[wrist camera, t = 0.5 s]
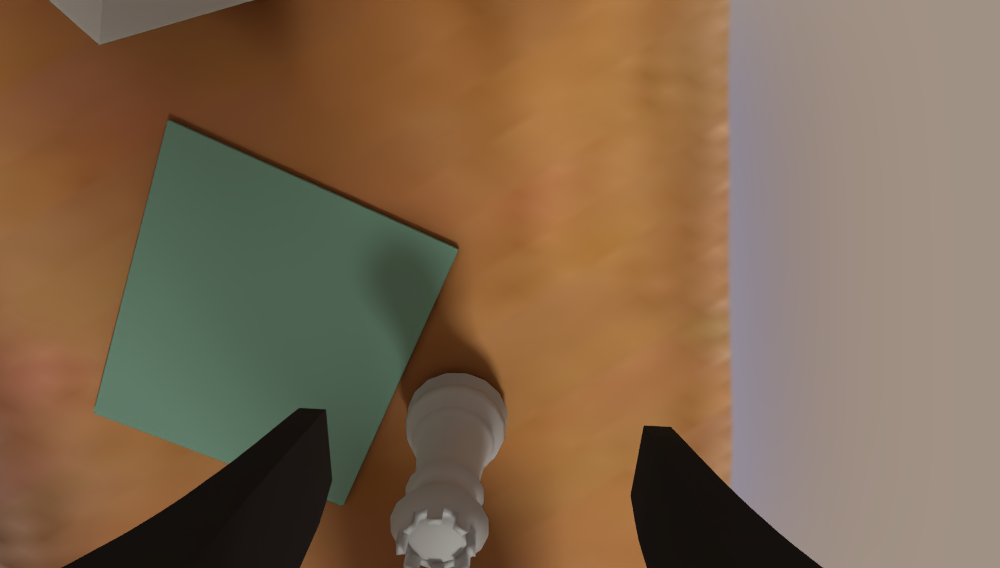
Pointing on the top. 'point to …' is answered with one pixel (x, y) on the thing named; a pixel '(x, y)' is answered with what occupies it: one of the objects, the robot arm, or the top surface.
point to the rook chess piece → (448, 471)
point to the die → (134, 14)
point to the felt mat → (263, 307)
